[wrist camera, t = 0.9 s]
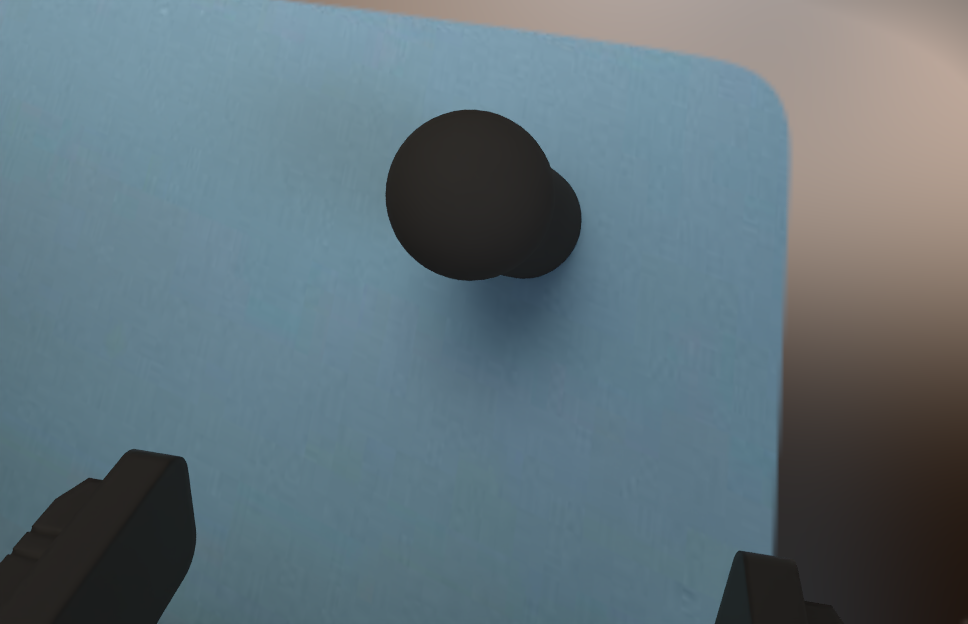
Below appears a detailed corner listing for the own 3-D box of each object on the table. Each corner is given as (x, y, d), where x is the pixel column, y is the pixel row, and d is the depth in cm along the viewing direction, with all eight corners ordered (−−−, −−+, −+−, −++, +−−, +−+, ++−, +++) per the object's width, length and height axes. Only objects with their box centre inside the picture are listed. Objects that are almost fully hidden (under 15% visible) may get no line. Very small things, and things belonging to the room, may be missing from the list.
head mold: (592, 150, 33) (534, 84, 24) (591, 289, 33) (532, 275, 24) (461, 156, 35) (358, 96, 25) (459, 289, 35) (356, 276, 25)
